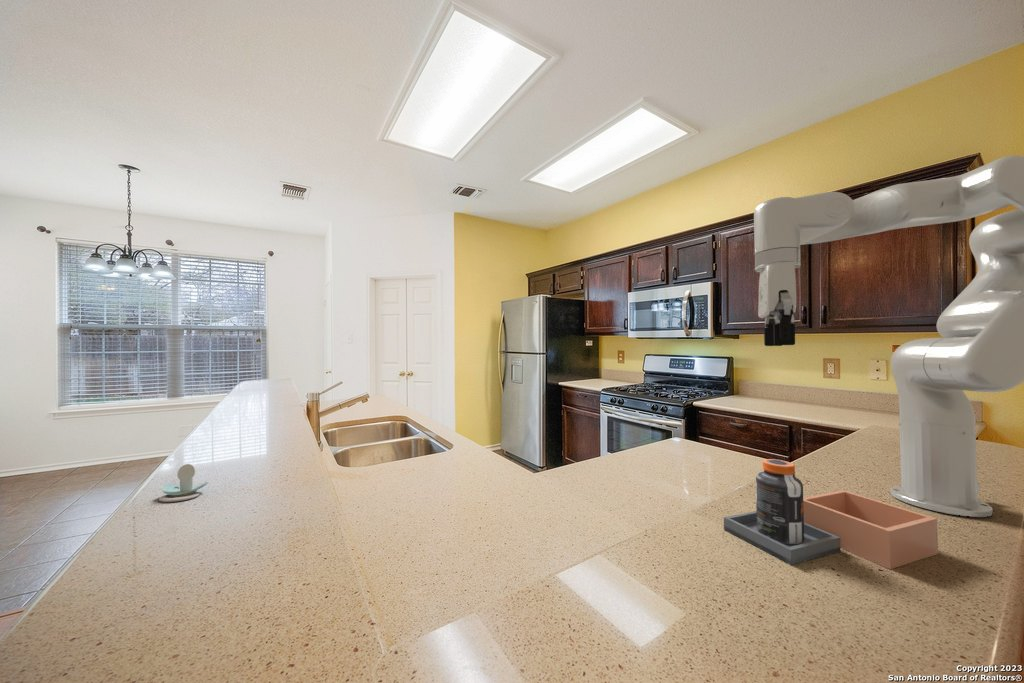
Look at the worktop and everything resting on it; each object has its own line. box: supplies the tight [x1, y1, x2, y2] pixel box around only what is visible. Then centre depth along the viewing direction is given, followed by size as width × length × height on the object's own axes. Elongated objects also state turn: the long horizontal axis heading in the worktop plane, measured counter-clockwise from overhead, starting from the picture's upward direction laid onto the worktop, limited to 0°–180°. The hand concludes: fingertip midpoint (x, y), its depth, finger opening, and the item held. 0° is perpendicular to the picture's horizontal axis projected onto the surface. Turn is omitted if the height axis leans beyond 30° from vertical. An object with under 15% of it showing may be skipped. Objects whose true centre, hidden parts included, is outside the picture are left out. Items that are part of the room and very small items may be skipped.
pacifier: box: [158, 463, 209, 503], centre depth 73 cm, size 7×6×6 cm
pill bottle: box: [755, 458, 804, 544], centre depth 56 cm, size 6×6×11 cm
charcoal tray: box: [723, 510, 842, 566], centre depth 56 cm, size 10×10×2 cm
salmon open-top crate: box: [803, 489, 939, 570], centre depth 56 cm, size 11×11×5 cm
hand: (778, 345), depth 73 cm, fingers open, 9 cm apart
